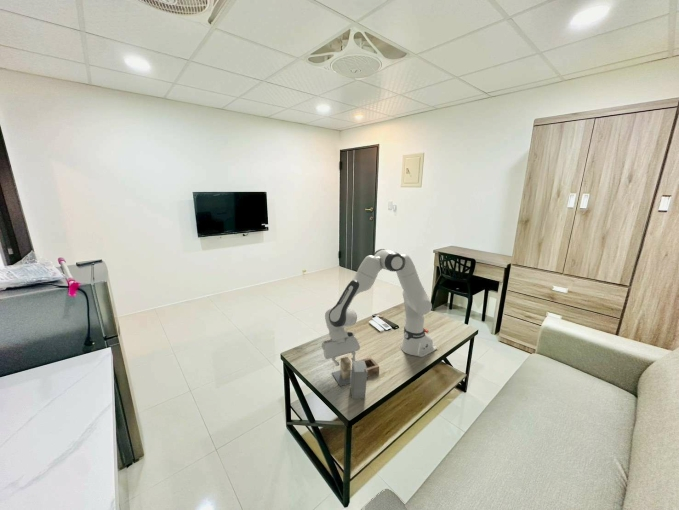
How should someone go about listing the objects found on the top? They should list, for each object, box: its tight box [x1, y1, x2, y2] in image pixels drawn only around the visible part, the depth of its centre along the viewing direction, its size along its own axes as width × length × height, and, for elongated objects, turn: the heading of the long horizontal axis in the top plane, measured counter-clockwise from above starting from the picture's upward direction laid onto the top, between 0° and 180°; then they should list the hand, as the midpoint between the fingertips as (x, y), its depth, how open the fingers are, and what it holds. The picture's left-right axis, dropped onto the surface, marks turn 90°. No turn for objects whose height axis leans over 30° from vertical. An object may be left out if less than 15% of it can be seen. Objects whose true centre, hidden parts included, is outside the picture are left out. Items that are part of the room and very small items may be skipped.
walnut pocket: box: [358, 356, 380, 377], centre depth 150 cm, size 9×9×4 cm
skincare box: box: [349, 360, 368, 400], centre depth 132 cm, size 8×7×16 cm
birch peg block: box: [339, 356, 352, 379], centre depth 144 cm, size 4×4×10 cm
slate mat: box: [331, 369, 352, 387], centre depth 145 cm, size 11×11×1 cm
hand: (346, 363), depth 142 cm, fingers open, 8 cm apart
